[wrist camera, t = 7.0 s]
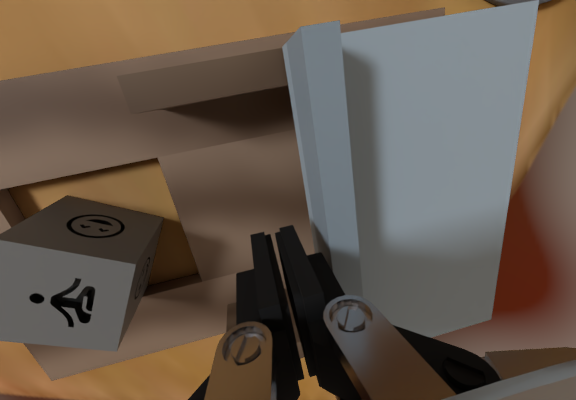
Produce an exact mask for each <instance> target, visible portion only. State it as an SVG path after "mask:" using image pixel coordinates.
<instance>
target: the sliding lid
mask: <svg viewBox="0 0 576 400" xmlns="http://www.w3.org/2000/svg"><path fill="white" fill-rule="evenodd" d="M538 5H539V0H535V1H529V2H523V3H517V4H511V5H505V6H499V7H493V8H487V9H481V10H476V11H470V12H464V13H458V14H452V15H446V16H440V17H434V18H428V19H422V20H416V21H410V22H404V23H399V24H393V25H387V26H381V27H375V28H369V29H363V30H357V31H351V32H345V33H341V30H340V20H339V21H333V22H327V23H321V24H315V25H309V26H302V27H300V28H299V29H298V30H297V31H296V32H295V33H294V35H293V36H292V37H291V38H290V39H289V40H288V41H287V42H286V43H285V44H284V45H283V47H282V49H283V55H284V61H285V68H286V74H287V80H288V87H289V93H290V99H291V106H292V112H293V118H294V124H295V131H296V137H297V143H298V150H299V156H300V162H301V169H302V175H303V181H304V187H305V194H306V200H307V206H308V213H309V219H310V225H311V232H312V238H313V244H314V250H315V253H319V252H321V253H322V254H323V256H324V257H325V259H326V261H327V263H328V264H329V266H330V268H331V270H332V272H333V273H334V275H335V277H336V279H337V281H338V282H339V284H340V286H341V288H342V290H343V291H344V293H345V295H355V296H360V297H362V298H365V299H367V300H369V301H370V302H371V303H372V304H373V305H374V306H375V307H376V308H377V309H378V310H379V311H380V312H381V313H382V314H383V315H384V316H385V317H386V319H387V320H388V321H389V322H390V323H391V324H392V325H395V326H398V327H401V328H404V329H406V330H409V331H412V332H415V333H418V334H421V335H424V336H427V337H430V338H431V337H434V336H437V335H441V334H444V333H447V332H451V331H454V330H457V329H460V328H464V327H467V326H471V325H474V324H477V323H480V322H484V321H487V320H490V319H491V316H492V310H493V303H494V297H495V290H496V283H497V277H498V270H499V264H500V257H501V250H502V243H503V237H504V230H505V224H506V217H507V211H508V204H509V197H510V191H511V184H512V177H513V171H514V164H515V157H516V151H517V144H518V137H519V131H520V124H521V118H522V111H523V104H524V98H525V91H526V84H527V78H528V71H529V64H530V58H531V51H532V44H533V38H534V31H535V25H536V18H537V11H538Z"/></svg>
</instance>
